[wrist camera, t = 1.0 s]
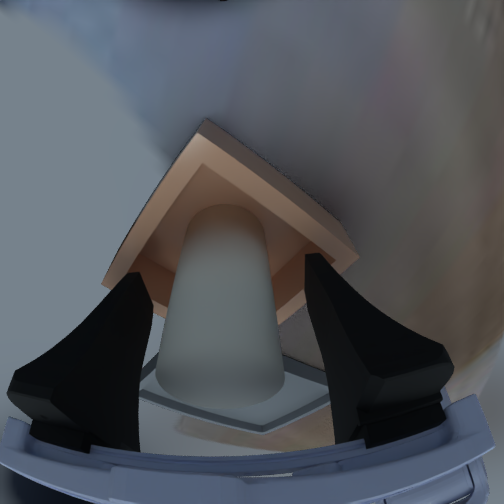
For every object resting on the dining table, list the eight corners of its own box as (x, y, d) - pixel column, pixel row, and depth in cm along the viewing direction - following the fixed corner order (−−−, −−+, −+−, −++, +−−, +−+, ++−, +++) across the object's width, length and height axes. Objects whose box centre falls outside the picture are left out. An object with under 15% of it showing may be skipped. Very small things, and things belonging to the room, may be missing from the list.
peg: (281, 233, 15) (312, 374, 8) (232, 281, 17) (233, 416, 10) (216, 188, 13) (198, 325, 7) (171, 245, 15) (136, 383, 9)
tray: (346, 380, 25) (349, 393, 24) (262, 423, 30) (263, 434, 29) (195, 314, 19) (193, 332, 17) (129, 380, 24) (126, 394, 23)
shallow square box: (341, 223, 15) (359, 257, 13) (240, 315, 19) (241, 353, 16) (206, 117, 12) (197, 132, 9) (118, 248, 15) (101, 284, 13)
